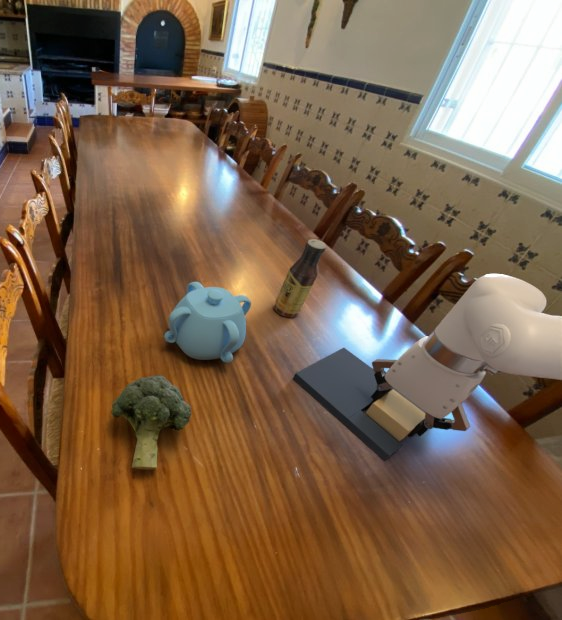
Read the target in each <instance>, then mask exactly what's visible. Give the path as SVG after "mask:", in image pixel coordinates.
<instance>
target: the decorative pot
mask: <svg viewBox="0 0 562 620" xmlns="http://www.w3.org/2000/svg"><path fill="white" fill-rule="evenodd" d="M241 303H243V304H241ZM251 307H252V302H251V300H250V298H249V297H248V296H246V295H243V294H239V295H235V296H234V295H233V294H232V292H230V291H228V290H227V289H226V288H223V287H220V286H207V287H206V286H205V287H204V286H203V285H202V284H201V282H199V281H192V282H189V283H188V284H187V287H186V295H184V296H183V297H182V299H181V300H179V302H178V303H177V304H176V306H175V307H174V309H173V310H172V311H171V312H170V314H169V316H168V327H169V330H168V331H166V332H165V333H164V335H163V337H164V340H165V342H166V343H169V344H173V343H176V345H177V346H178V347H179V349H181V351H182V352H183V353H184V354H185V355H186V356H187V357H189V358H191V359H194V360H198V361H200V360H201V361H210V360H212V361H213V360H219V359H220V360H221V361H222V362H223V363H225V364H230V363H232V361H233V360H234V356H233V353H235V352H236V351H238V350H239V349H240V348H241V347H242V346H243V345H244V343H245V340H246V335H247V334H246V333H247V318H246V315H247V314H248V313H249V311H250V309H251Z"/></svg>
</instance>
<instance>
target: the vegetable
mask: <svg viewBox="0 0 562 620" xmlns="http://www.w3.org/2000/svg"><path fill="white" fill-rule="evenodd" d="M110 413H111V415H112V417H113V418H114V419H118V418H120V417H123V418H124V419H125V420H127V421H128V422H129V424H130V425H131V426H132V428H133V429H134V435H135V437H136V439H137V440H136V445H135V449H134V454H133V458H132V464H131V468H132V469H139V470H156V469H158V450H159V449H158V439H159V434H160V431H161V430H162V429H164V428H166V427H167V428H168V429H170V430H174V431H177V432H179V431H182V430H184V427H186V426H187V425H188V423H190V420H191V416H192V407H191V405H190V404H188V402H187V401H185V400H184V397H183V396H182V393H181V390H180V388H179V387H178V386H176V385H173V384H172V383H171V381H169V380H168V379H167V378H166V377H165V376H163V375H161V374H158V375H157V374H155V375H151V376H149V375H147V376H146V377H139V378H136V379H135V381H133V382H130V383H128V384H127V385H126V386H125V388H124V389H123V390H121V393H120V395H118V396H117V397H116V398H115V400H114V401H113V402H112V405H111V411H110Z"/></svg>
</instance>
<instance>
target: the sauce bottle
mask: <svg viewBox="0 0 562 620" xmlns="http://www.w3.org/2000/svg"><path fill="white" fill-rule="evenodd" d="M326 250H327V244H326V243H325V242H323V241H321V240H320V239H315V238H312V239H311V238H310V239H309V240H307V241H306V244H305V245H304V249H303V252H302V254H301V255H300V257H299V258H298V259H297V260H296V261H295V262H294V263H293V264H292V265H291V266H290V267H289V269H288V271H287V273H286V276H285V277H284V278H285V279H284V280H283V283H282V285H281V287H280V290H279V292H278V294H277V297H276V299H275V301H274V307H273V308H274V310H275V311H276V313H277V314H278V315H280V316H282V317H285V318H294V317H297V316H298V314H299V313H300V312H301V310H302V308H303V306H304V304H305V302H306V301H307V298H308V296H309V295H310V292H311V290H312V288H313V286H314V285H315V281H316V280H317V278H318V276H319V265H318V264H319V262H320V259H321V258H322V255H323V253H325V251H326Z"/></svg>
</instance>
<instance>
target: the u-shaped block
mask: <svg viewBox="0 0 562 620" xmlns="http://www.w3.org/2000/svg"><path fill="white" fill-rule="evenodd" d="M374 374H375V371H374V370H373V367H371V366H370V365H369V364H367V363H365V362H364V361H363V360H362V359H360V358H359V357H358V356H357V355H355V354H353V352H351V351H350V350H348V349H347V348H346V347H342V348H340V349H338V350H336V351H335V352H334V351H333V352H332V353H331V354H329V355H327V356H325V357H323V358H320V360H317V361H315V362H314V363H312V364H310V365H308V366H306V367H304V368H302V369H300V370H299V371H296V372H295V373H294V375H293V376H292V379H293V380H294V381H295V382H296V383H297V384H298V385H299V386H300V387H301V388H302V389H303V390H305V391H306V392H307V393H308V394H309V395H310V396H311V397H313V398H314V400H316V401H317V402H318V403H319V404H320V405H321V406H322V407H324V409H326V410H327V411H328V412H329V413H330V414H332V415H333V417H335V418H336V419H337V420H338V421H339V422H340V423H341V424H342V425H344V426H345V427H346V428H347V429H348V430H350V432H352V433H353V434H354V435H355V436H356V437H357V438H358V439H359V440H360V441H362V442H363V443H364V444H365V445H366V446H367V447H368V448H370V449H371V450H372V452H374V454H376V455H377V456H378V457H379V458H381V459H382V460H383V461H384V462H385V461H387V460H388V459H389V458H390V457H392V456H393V455H394V454H396V453H397V452H398V451H399V450H400V449H401V448H402V447H403V446H404V445H403V444H402V443H401V442H400V441H398V440H397V439H396V438H394V437H393V436H392V435H391V434H390V433H388V432H387V431H386V430H385V429H384V428H382V427H381V426H380V425H379V424H378V423H376V422H375V421H374V420H373V419H372V418H371V417H369V416H368V415H367V414H366V413H365V412H364V411H365V410H368V409H369V408H370V405H369V404H370V403H371V401H372V400H373V399H372V398H371V396H372V395H373V393H374V392H375V391H376V390H377V388H376V386H377V382H376V379H375V376H374ZM392 390H395V391H396V392H398V393H399V394H400V395H402V396H403V397H404V398H406V399H407V400H408V401H410V402H411V403H412V404H414V405H415V406H416V407H418V408H419V409H420V410H422V411H423V412H424V413H425V412H426V411H424V410H423V409H421V408H420V407H419V406H417V405H416V404H415V403H413V402H412V401H411V400H409V399H408V398H407V397H405V396H404V395H403V394H401V393H400V392H399V391H397V390H396V389H395V388H391V391H392Z"/></svg>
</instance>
